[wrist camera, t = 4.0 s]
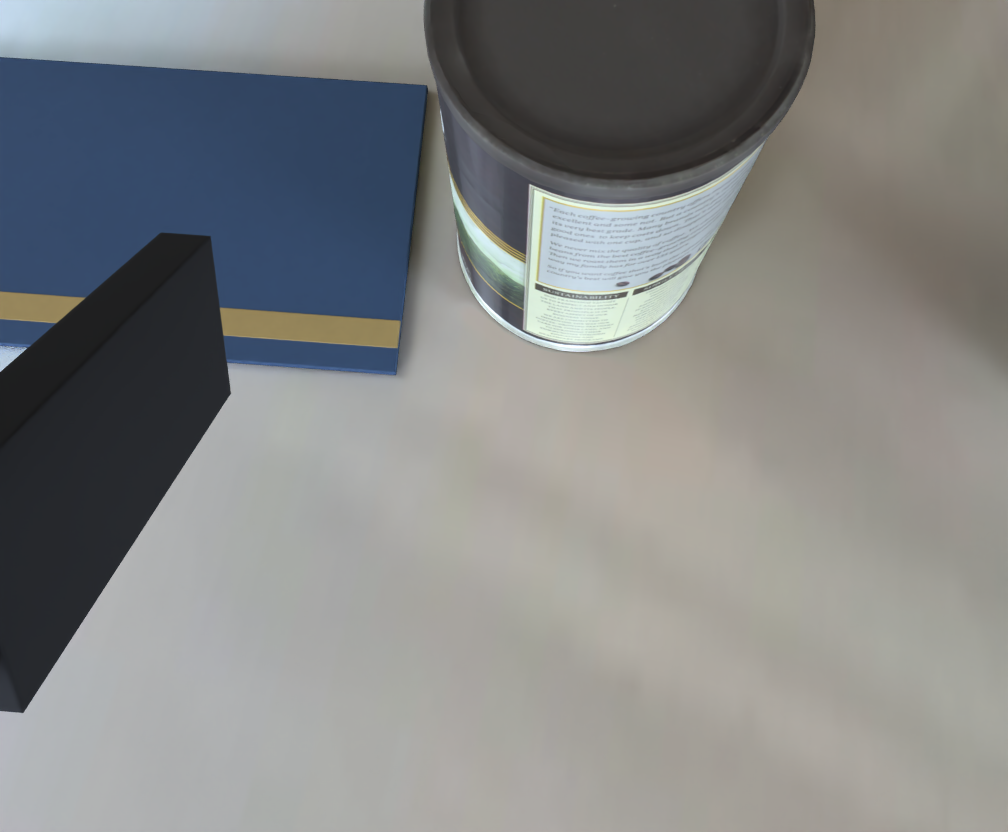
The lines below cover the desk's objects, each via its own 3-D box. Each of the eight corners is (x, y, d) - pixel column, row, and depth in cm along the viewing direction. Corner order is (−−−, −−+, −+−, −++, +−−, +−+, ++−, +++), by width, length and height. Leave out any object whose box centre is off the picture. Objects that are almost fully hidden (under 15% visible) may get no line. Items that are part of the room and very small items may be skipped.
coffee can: (411, 286, 36) (350, 80, 22) (527, 91, 38) (536, -208, 25) (635, 399, 35) (715, 254, 21) (742, 191, 37) (878, -63, 23)
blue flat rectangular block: (428, 90, 38) (427, 84, 38) (396, 375, 35) (394, 372, 35) (-21, 60, 39) (-27, 54, 38) (-90, 339, 36) (-97, 335, 35)
